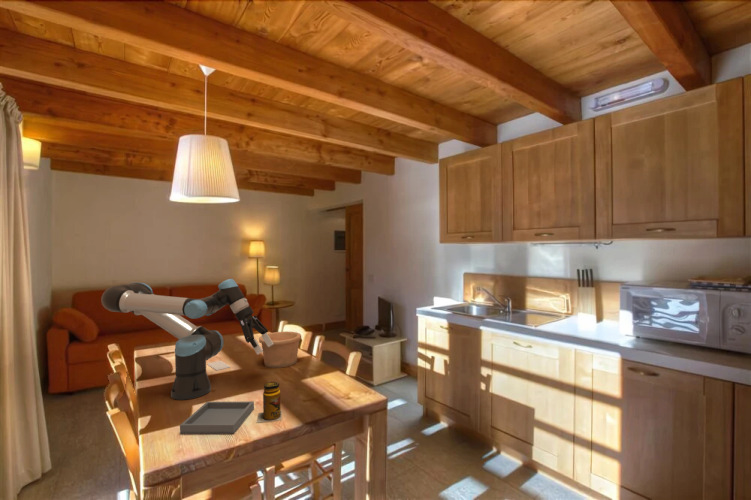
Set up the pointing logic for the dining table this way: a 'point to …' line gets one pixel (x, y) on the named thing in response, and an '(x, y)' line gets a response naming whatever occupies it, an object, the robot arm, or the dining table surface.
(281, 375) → the dining table surface
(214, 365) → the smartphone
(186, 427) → the tray
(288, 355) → the pottery
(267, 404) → the condiment
